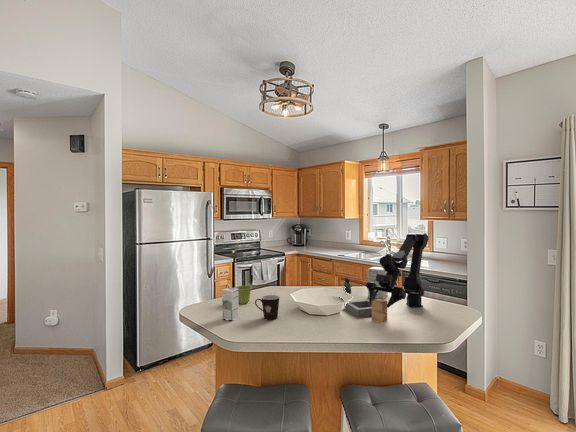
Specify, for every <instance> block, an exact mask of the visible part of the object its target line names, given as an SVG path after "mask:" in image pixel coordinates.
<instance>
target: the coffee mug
mask: <svg viewBox="0 0 576 432" xmlns="http://www.w3.org/2000/svg"><path fill="white" fill-rule="evenodd" d="M257 301H260V302H261V304H262V308H261V307H259V305H258V303H257ZM254 305H255V306H256V307H257V308H258V309H259V310H260V311H262V312H263V319H264V320H265V319H267V320H266V321H275V320H277V319H278V314H279V307H280V296H279V295H275V294H267V295H262V296H261V298H256V300H255V301H254Z"/></svg>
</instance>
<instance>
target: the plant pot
mask: <svg viewBox="0 0 576 432" xmlns="http://www.w3.org/2000/svg"><path fill="white" fill-rule="evenodd" d="M234 288H238V303H246V304H247V303H248V302H249V303H250V298H251V291H252V289H253V287H252V286H251V285H240V286H235V287H234ZM249 303H248V304H249Z"/></svg>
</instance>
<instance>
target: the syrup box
mask: <svg viewBox="0 0 576 432" xmlns="http://www.w3.org/2000/svg"><path fill="white" fill-rule="evenodd" d="M221 294H222V295H221V296H222V320H223V319H228V320H234V319H236V318H238V317H240V312H239V310H240V308H239V307H240V306H239V303H238V288H235V287H226V288H224V289H223V288H222V289H221ZM238 319H239V318H238ZM228 320H227V321H228ZM236 320H237V319H236ZM234 321H235V320H234Z"/></svg>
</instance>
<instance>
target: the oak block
mask: <svg viewBox="0 0 576 432" xmlns="http://www.w3.org/2000/svg"><path fill="white" fill-rule="evenodd" d="M387 304H388V301H387V300H384V299H380V298H375V299H374V300H373V301H372V315H371V321H373V322H376V323H379V324H383V323H385V322H387V321H388V308H387Z"/></svg>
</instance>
